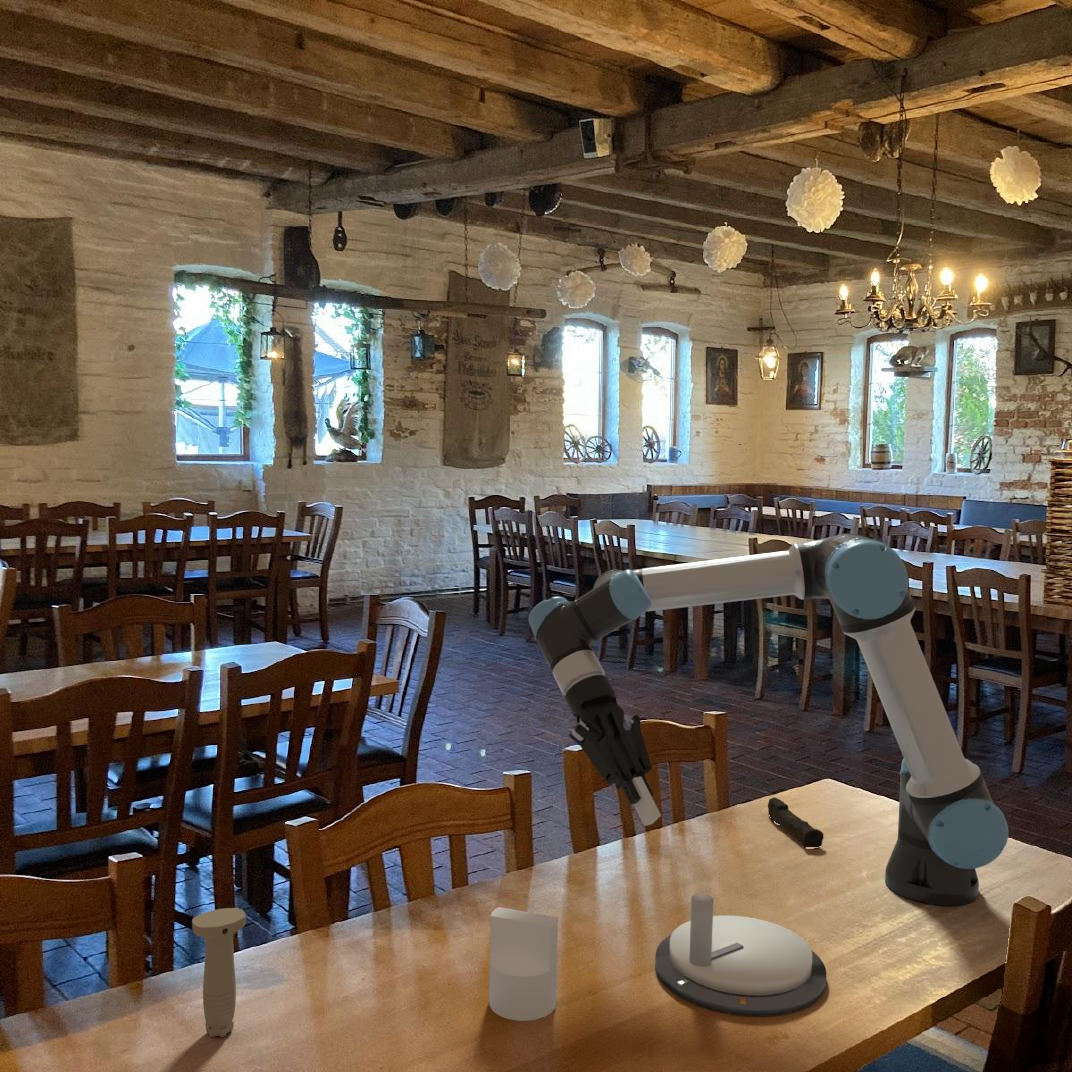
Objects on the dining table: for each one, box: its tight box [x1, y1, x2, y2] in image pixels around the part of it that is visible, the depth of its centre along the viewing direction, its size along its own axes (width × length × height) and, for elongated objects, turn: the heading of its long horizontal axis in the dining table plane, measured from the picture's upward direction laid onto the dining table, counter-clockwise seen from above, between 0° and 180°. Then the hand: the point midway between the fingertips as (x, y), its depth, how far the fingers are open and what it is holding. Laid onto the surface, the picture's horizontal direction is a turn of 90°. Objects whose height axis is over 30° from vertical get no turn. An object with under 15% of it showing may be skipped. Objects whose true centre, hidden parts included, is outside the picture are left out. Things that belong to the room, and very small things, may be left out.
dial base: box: [654, 933, 827, 1017], centre depth 152 cm, size 24×24×2 cm
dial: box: [670, 893, 813, 996], centre depth 152 cm, size 20×20×11 cm
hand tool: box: [767, 797, 824, 848], centre depth 209 cm, size 19×4×5 cm, turn 11°
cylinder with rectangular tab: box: [489, 906, 559, 1022], centre depth 142 cm, size 9×9×12 cm
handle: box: [191, 907, 247, 1038], centre depth 134 cm, size 5×6×15 cm
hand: (652, 820), depth 156 cm, fingers closed
